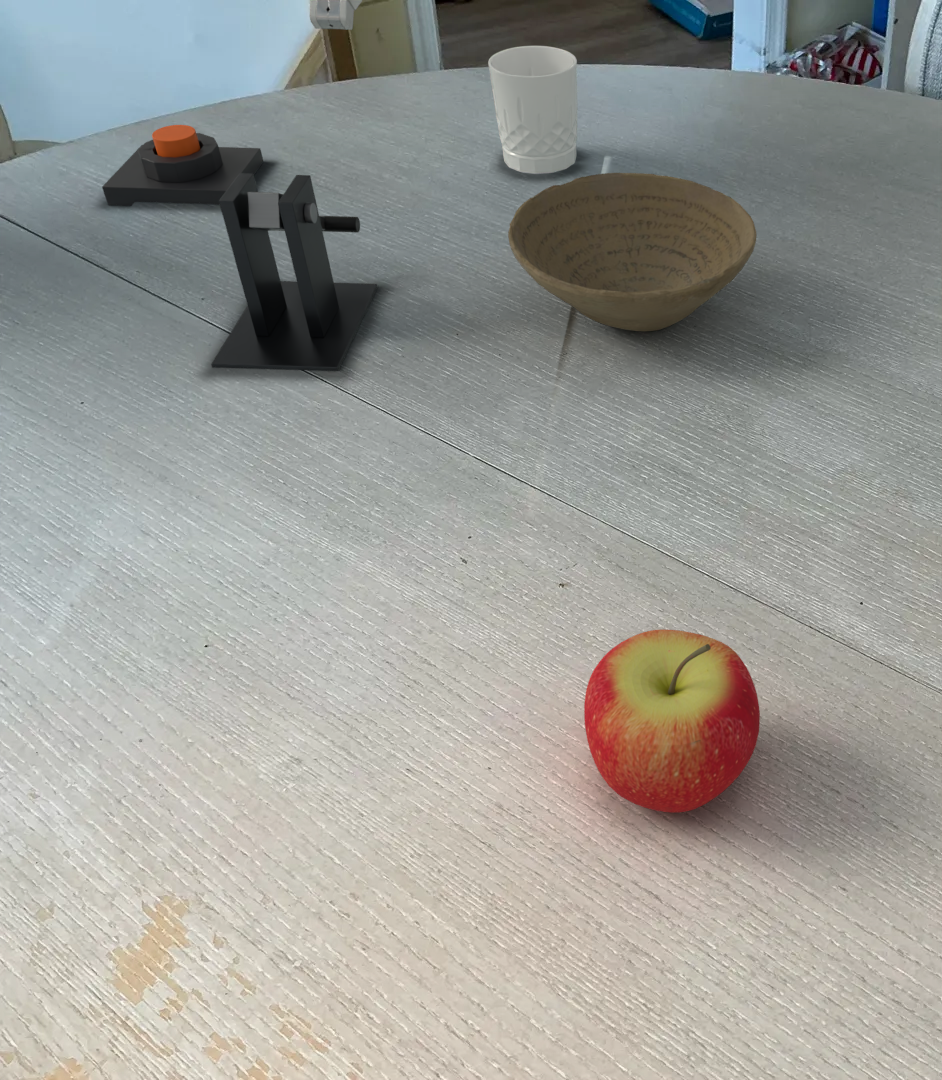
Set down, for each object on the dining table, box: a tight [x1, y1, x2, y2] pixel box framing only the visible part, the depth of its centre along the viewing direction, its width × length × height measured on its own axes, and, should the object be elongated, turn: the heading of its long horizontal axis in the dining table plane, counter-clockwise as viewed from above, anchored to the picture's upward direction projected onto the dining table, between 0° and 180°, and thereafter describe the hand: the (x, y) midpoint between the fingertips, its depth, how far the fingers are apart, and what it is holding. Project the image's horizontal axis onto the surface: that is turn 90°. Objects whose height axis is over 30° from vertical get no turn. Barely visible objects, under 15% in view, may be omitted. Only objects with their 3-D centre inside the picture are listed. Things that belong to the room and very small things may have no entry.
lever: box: [247, 191, 361, 233], centre depth 87 cm, size 12×6×2 cm
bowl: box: [507, 172, 758, 332], centre depth 89 cm, size 18×18×8 cm
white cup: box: [487, 45, 578, 175], centre depth 109 cm, size 8×8×10 cm
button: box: [151, 124, 200, 157], centre depth 104 cm, size 4×4×2 cm
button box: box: [101, 132, 265, 207], centre depth 106 cm, size 11×9×4 cm
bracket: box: [211, 173, 379, 372], centre depth 85 cm, size 12×9×12 cm
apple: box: [583, 629, 761, 813], centre depth 56 cm, size 8×8×10 cm
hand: (331, 25), depth 93 cm, fingers closed
